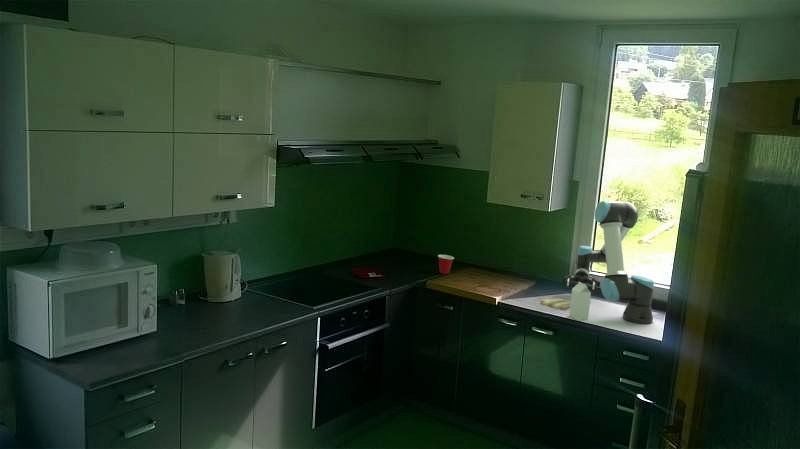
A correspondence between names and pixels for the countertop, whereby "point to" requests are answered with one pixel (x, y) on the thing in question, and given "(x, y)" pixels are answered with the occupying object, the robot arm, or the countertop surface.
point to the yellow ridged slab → (557, 303)
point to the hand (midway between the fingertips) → (580, 285)
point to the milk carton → (580, 302)
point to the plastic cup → (445, 263)
